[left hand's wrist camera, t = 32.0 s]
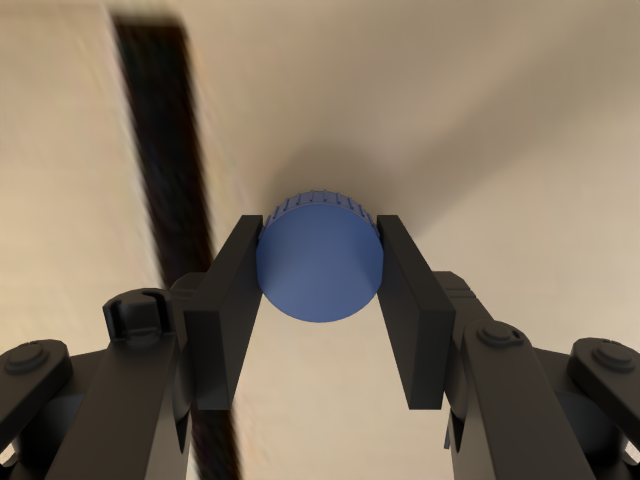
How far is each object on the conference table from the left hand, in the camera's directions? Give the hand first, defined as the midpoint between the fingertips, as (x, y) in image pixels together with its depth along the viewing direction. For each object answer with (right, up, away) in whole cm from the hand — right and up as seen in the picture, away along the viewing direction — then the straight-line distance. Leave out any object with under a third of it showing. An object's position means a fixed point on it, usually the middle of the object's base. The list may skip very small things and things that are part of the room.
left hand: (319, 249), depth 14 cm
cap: (0, 0, -1) cm, 1 cm away
